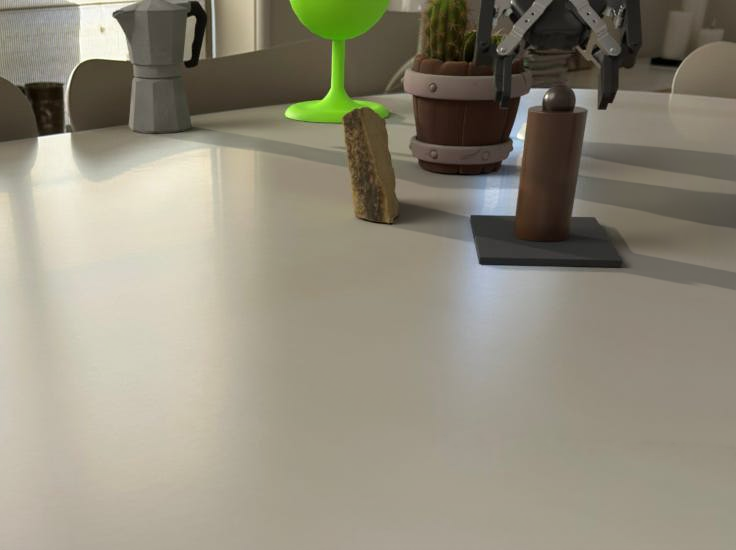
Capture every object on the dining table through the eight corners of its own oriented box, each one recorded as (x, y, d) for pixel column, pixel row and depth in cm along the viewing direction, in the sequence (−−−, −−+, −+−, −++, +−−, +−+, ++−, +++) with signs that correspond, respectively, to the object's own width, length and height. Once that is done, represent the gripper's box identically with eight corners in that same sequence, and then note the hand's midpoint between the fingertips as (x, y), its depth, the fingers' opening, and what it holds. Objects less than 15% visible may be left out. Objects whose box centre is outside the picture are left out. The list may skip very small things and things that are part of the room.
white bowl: (538, 145, 139) (562, 141, 142) (541, 121, 138) (566, 117, 140) (509, 140, 143) (533, 136, 145) (512, 116, 141) (537, 112, 144)
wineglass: (358, 125, 154) (364, -20, 144) (265, 117, 161) (264, -22, 151) (406, 111, 165) (414, -25, 155) (316, 104, 172) (319, -26, 162)
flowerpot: (488, 152, 135) (507, -33, 124) (542, 175, 123) (570, -28, 112) (380, 158, 133) (390, -30, 121) (425, 182, 120) (441, -25, 109)
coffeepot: (139, 137, 147) (130, -15, 137) (104, 129, 153) (92, -17, 143) (228, 125, 155) (225, -19, 145) (191, 118, 161) (185, -21, 151)
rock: (355, 170, 115) (301, 171, 107) (405, 103, 109) (351, 100, 102) (415, 246, 113) (363, 252, 106) (468, 183, 107) (417, 184, 100)
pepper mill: (565, 229, 99) (587, 80, 92) (571, 242, 95) (595, 88, 88) (510, 228, 100) (528, 80, 93) (515, 241, 96) (534, 87, 89)
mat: (594, 223, 104) (595, 217, 103) (621, 267, 90) (622, 260, 90) (469, 221, 105) (470, 214, 104) (478, 264, 92) (479, 257, 91)
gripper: (484, -91, 93) (477, 72, 90) (651, -92, 92) (650, 73, 89) (474, -22, 100) (468, 130, 97) (629, -23, 99) (627, 132, 96)
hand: (554, 103), depth 93 cm, fingers open, 8 cm apart
